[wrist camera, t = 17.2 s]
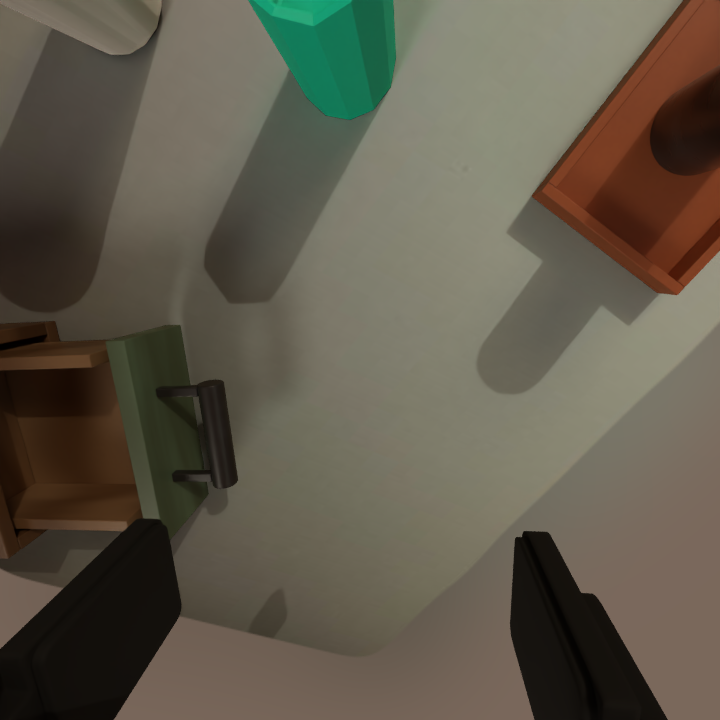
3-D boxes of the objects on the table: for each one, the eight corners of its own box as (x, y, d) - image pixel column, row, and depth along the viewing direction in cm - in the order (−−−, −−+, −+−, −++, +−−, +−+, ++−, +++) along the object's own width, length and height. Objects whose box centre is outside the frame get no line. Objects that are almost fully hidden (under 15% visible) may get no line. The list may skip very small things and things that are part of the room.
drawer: (239, 321, 28) (196, 337, 22) (262, 494, 31) (229, 547, 25) (0, 332, 30) (-95, 349, 24) (44, 492, 33) (-30, 540, 27)
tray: (657, 293, 25) (677, 295, 23) (531, 196, 25) (540, 191, 23) (875, 60, 21) (919, 41, 19) (730, -61, 21) (762, -92, 19)
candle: (293, 14, 24) (185, -223, 12) (393, -2, 23) (380, -270, 11) (303, 125, 25) (215, 8, 13) (398, 114, 24) (391, -20, 13)
